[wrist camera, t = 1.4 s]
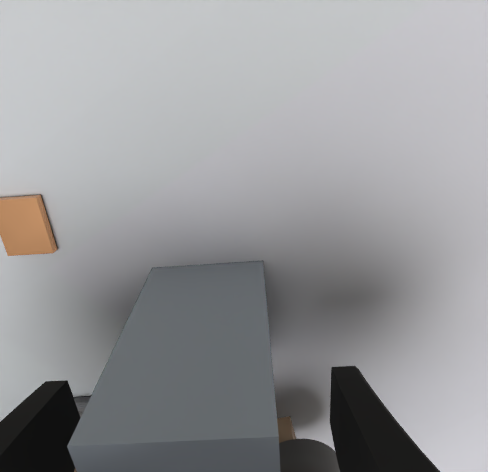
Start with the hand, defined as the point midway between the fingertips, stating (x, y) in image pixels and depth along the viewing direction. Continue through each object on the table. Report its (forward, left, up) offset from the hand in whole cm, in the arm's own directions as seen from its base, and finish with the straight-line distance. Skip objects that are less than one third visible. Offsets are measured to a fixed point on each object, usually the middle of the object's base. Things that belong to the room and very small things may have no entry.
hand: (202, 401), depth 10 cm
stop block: (0, 0, -4) cm, 4 cm away
